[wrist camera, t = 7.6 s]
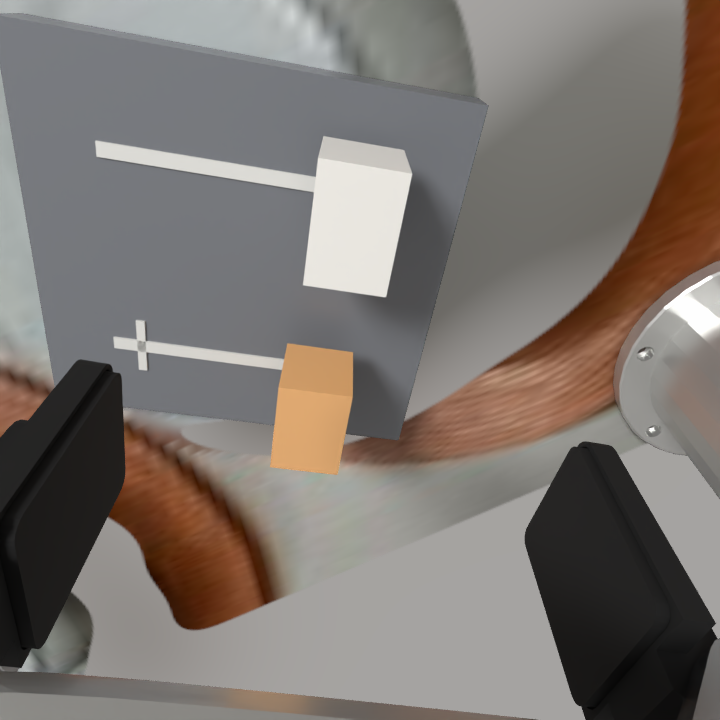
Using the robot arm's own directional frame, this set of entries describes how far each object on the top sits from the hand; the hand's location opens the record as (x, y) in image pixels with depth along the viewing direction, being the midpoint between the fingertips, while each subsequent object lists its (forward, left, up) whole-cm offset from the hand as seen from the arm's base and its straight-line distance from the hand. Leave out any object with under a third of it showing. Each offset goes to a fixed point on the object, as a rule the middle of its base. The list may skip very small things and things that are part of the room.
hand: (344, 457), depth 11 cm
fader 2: (0, -1, -14) cm, 14 cm away
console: (+5, +3, -16) cm, 17 cm away
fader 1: (+1, +7, -14) cm, 16 cm away
